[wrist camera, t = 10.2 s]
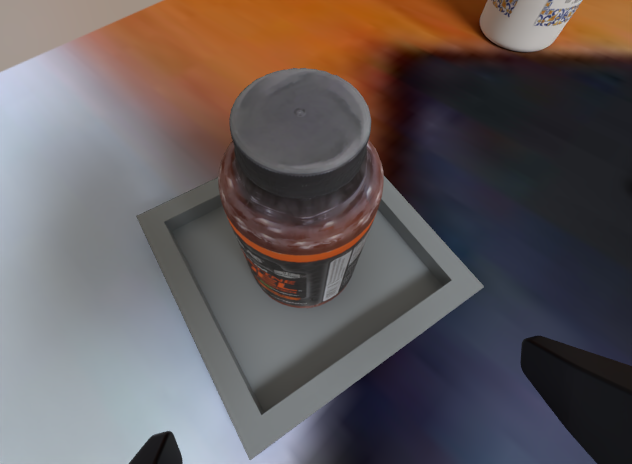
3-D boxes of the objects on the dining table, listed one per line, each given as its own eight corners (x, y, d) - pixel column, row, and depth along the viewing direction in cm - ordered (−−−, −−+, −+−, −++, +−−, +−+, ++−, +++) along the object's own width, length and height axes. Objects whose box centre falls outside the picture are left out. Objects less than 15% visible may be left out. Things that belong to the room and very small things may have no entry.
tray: (256, 453, 15) (249, 460, 14) (149, 230, 21) (136, 216, 19) (469, 296, 19) (484, 286, 17) (333, 140, 24) (335, 121, 23)
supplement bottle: (230, 274, 19) (139, 132, 9) (291, 200, 21) (275, 19, 11) (318, 334, 17) (332, 248, 7) (372, 248, 20) (441, 91, 10)
